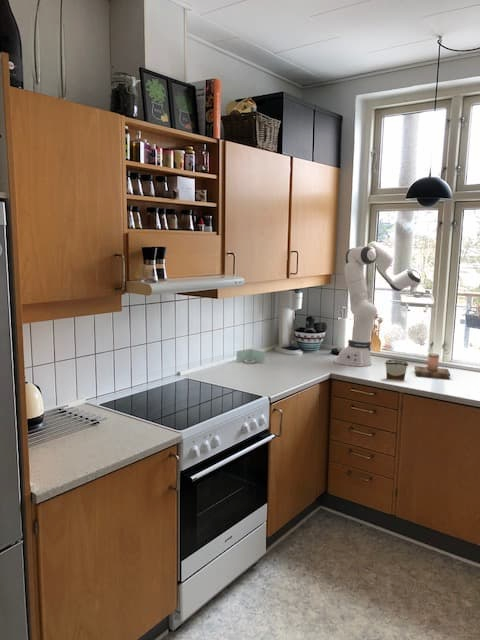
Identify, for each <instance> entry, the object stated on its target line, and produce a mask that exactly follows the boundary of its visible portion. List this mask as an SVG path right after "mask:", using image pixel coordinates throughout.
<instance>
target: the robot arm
mask: <svg viewBox="0 0 480 640" xmlns="http://www.w3.org/2000/svg"><path fill="white" fill-rule="evenodd" d="M393 260H394V256H393V253H392V252H391V250H390V249H388V248H387V247H385V246H384V245H382V244H381V243H378V242H376V241H370V242H369V243H367V245H365V246H357V247H351V248H350V249H348V250H347V251H346V253H345V263H346V264H345V265H344V278H345V283H346V286H347V288H348V293H349V302H350V306H349V307H350V313H352V314H353V316H355V317H356V318H355V322H354V325H353V327H352V333H351V334H352V335H351V336H352V337H351V339H348V341H347V342H348V343H347V346H346V347H344V348H343V349H341V350H340V351H339V353H338V356H337V357H335V359H334V364H338V365H345V366H352V367H353V366H354V367H358V368H359V367H365V366H371V365H372V361H371V349H372V348H371V347H372V342H371V337H372V336H371V335H372V328H373V324H374V320H375V318H376V316H377V313H378V310H377V307H376V306H375V305H374V303H372V302H369V301H368V286H367V280H366V278H365V275H364V274H365V273H364V272H363V271H364V270H363V268H364V265H372V264H373V263H375V264H376V266H375V268H376V270H377V272H378V273H379V274H380V276H381V277H382V278H383V279H384V280H385V281H386V282H387V284H389V286H390V288H391V289H392V290H393V291H396V292H401V291H402V290H403V289H405V288H408V287H410V289H409V292H408V293H406V292H403V293H401V294H400V295H399V298H400V303H399V305H400V306H401V307H405V308H406V309H407V312H411V307H415V308H417V307H418V308H423V313H427V310H428V309H429V308H434V307H435V297H434V295H433V292H432V291H431V290H429V289H425V286H424V281H425V280H424V281H423V279H422V278H421V276H420V274H419V273H418V272H419V271H417V270H415V269H413V268H408V269H406V270H404V271H402V272H400V273H399V274H395V275H393V274H392V273H391V271H389V268H390V266H391V265H392V263H393Z"/></svg>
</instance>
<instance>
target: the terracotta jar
mask: <svg viewBox="0 0 480 640" xmlns="http://www.w3.org/2000/svg"><path fill="white" fill-rule="evenodd" d="M439 358H440V354H438V353H428V355H427V366H426V367H427V370H429V371H437V370H438V368H439V367H438V366H439V360H440V359H439Z"/></svg>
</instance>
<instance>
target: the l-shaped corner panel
mask: <svg viewBox="0 0 480 640" xmlns="http://www.w3.org/2000/svg"><path fill="white" fill-rule="evenodd" d="M265 356H266V351H263V350H258V349H253V348H246V349H240V350H237V351H236V363H242V362H243V363H244V364H245V365H248V364H249V365H253V364H255V363H259V362H260V364H263V363H264V364H265V361H266V360H265V359H266V357H265Z"/></svg>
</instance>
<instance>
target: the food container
mask: <svg viewBox="0 0 480 640" xmlns="http://www.w3.org/2000/svg"><path fill="white" fill-rule="evenodd" d="M384 365H385V371H386V372H385V375H386V380H392V381H405V378H406V374H407V367H409V364H408V362H407V361H405V360H401V359H387V360H386V361H385V363H384Z"/></svg>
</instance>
